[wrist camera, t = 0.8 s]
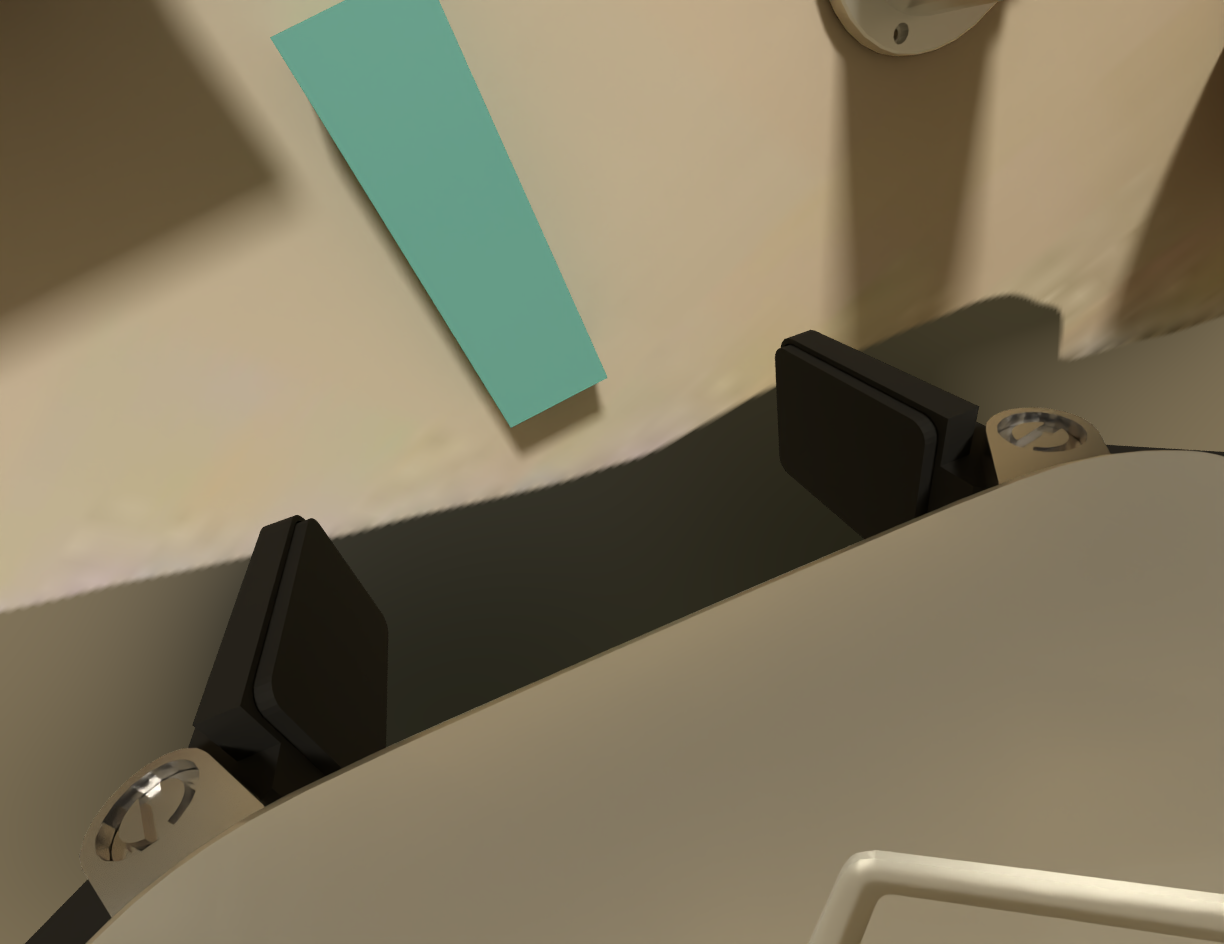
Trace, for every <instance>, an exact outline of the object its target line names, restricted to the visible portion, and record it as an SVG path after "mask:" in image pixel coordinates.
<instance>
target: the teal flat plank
mask: <svg viewBox="0 0 1224 944" xmlns="http://www.w3.org/2000/svg"><path fill="white" fill-rule="evenodd" d="M270 38H271V40H272V41H273V43H274V44H275V46H276V48H277V49H278V51H279V53H280V54H281V56H282V57H283V59H284V61H285V62H286V64H287V66H288V67H289V69H290V70H291V72H292V74H293V75H294V77H295V79H296V80H297V82H298V83H299V85H300V87H301V88H302V90H303V92H304V93H305V95H306V96H307V98H308V100H309V101H310V103H311V105H312V106H313V108H314V109H315V111H316V113H317V114H318V116H319V117H320V119H321V121H322V122H323V124H324V126H325V127H326V129H327V130H328V132H329V134H330V135H331V137H332V139H333V140H334V142H335V143H336V145H337V147H338V148H339V150H340V152H341V153H342V155H343V156H344V158H345V160H346V161H347V163H348V165H349V166H350V168H351V169H352V171H353V173H354V174H355V176H356V178H357V179H358V181H359V182H360V184H361V186H362V187H363V189H364V190H365V192H366V194H367V195H368V197H369V199H370V200H371V202H372V203H373V205H374V207H375V208H376V210H377V212H378V213H379V215H380V216H381V218H382V220H383V221H384V223H385V225H386V226H387V228H388V229H389V231H390V233H391V234H392V236H393V238H394V239H395V241H396V242H397V244H398V246H399V247H400V249H401V251H402V252H403V254H404V255H405V257H406V259H407V260H408V262H409V263H410V265H411V267H412V268H413V270H414V272H415V273H416V275H417V276H418V278H419V280H420V281H421V283H422V285H423V286H424V288H425V289H426V291H427V293H428V294H429V296H430V298H431V299H432V301H433V302H434V304H435V306H436V307H437V309H438V311H439V312H440V314H441V315H442V317H443V319H444V320H445V322H446V324H447V325H448V327H449V328H450V330H451V332H452V333H453V335H454V336H455V338H456V340H457V341H458V343H459V345H460V346H461V348H462V349H463V351H464V353H465V354H466V356H467V358H468V359H469V361H470V362H471V364H472V366H473V367H474V369H475V371H476V372H477V374H478V375H479V377H480V379H481V380H482V382H483V384H484V385H485V387H486V388H487V390H488V392H489V393H490V395H491V397H492V398H493V400H494V401H495V403H496V405H497V406H498V408H499V409H500V411H501V413H502V414H503V416H504V418H505V419H506V421H507V422H508V424H509V426H510V427H511V428H512V427H514V426H515V425H517V424H519V423H521V422H523V421H525V420H527V419H529V418H531V417H533V416H535V415H537V414H539V413H541V412H542V411H544V410H546V409H548V408H550V407H552V406H554V405H556V404H558V403H560V402H562V401H564V400H566V399H567V398H569V397H571V396H573V395H575V394H577V393H579V392H581V391H583V390H585V389H587V388H589V387H591V386H593V385H594V384H596V383H598V382H600V381H602V380H604V379H606V378H607V375H606V373H605V371H604V369H603V366H602V364H601V362H600V360H599V357H598V355H597V353H596V351H595V349H594V346H593V344H592V342H591V340H590V337H589V335H588V333H587V331H586V328H585V326H584V324H583V322H582V319H581V317H580V315H579V313H578V311H577V308H576V306H575V304H574V302H573V299H572V297H571V295H570V293H569V290H568V288H567V286H566V284H565V281H564V279H563V277H562V275H561V273H560V270H559V268H558V266H557V264H556V261H555V259H554V257H553V255H552V252H551V250H550V248H549V246H548V243H547V241H546V239H545V237H544V235H543V232H542V230H541V228H540V226H539V223H538V221H537V219H536V217H535V214H534V212H533V210H532V208H531V205H530V203H529V201H528V199H527V197H526V194H525V192H524V190H523V188H522V185H521V183H520V181H519V179H518V176H517V174H516V172H515V170H514V168H513V165H512V163H511V161H510V159H509V156H508V154H507V152H506V150H505V147H504V145H503V143H502V141H501V138H500V136H499V134H498V132H497V130H496V127H495V125H494V123H493V121H492V118H491V116H490V114H489V112H488V109H487V107H486V105H485V103H484V100H483V98H482V96H481V94H480V92H479V89H478V87H477V85H476V83H475V80H474V78H473V76H472V74H471V71H470V69H469V67H468V65H467V62H466V60H465V58H464V56H463V54H462V51H461V49H460V47H459V45H458V42H457V40H456V38H455V36H454V33H453V31H452V29H451V27H450V24H449V22H448V20H447V18H446V16H445V13H444V11H443V9H442V7H441V4H440V2H439V0H345V1H343V2H341V3H339V4H337V5H335V6H333V7H331V8H329V9H327V10H325V11H323V12H321V13H319V14H317V15H315V16H313V17H311V18H309V19H307V20H305V21H303V22H301V23H299V24H296V25H294V26H292V27H290V28H288V29H286V30H284V31H282V32H280V33H278V34H276V35H274V36H272V37H270Z"/></svg>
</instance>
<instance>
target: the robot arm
mask: <svg viewBox="0 0 1224 944" xmlns="http://www.w3.org/2000/svg"><path fill="white" fill-rule="evenodd" d="M998 1H1003V0H830V2H831V5H832V8H833V10H834V12H835V14H836V15H837V17H838V18H839V20H840V21H841V23H842V24H843V26H844V27H845V29H846V30H847V31H848V32H849V33H850V34H851V35H852V36H853V37H854V38H855V39H856V40H857V41H858V42H859V43H860V44H861V45H863V46H865V47H867V48H869V49H871V50H873V51H875V52H877V53H879V54H885V55H891V56H896V57H897V56H907V55H918V54H922V53H925V52H929V51H933V50H937V49H939V48H941V47H943V46H945V45H947V44H949V43H951V42H953V41H955V40H957V39H958V38H959V37H960V36H962V35H963V34H964V33H966V32H967V31H968V30H969V29H971V28H972V27H973V26H975V25H976V24H977V23H978V22H979V21H980V20H981V19H982V18H983V17H984V15H985V14H986V13H987V12H988V11H989V10H990V9H991V8H992V7H993V6H994V5H995V4H996V2H998ZM775 367H776V388H777V411H778V432H779V456H780V461H781V464H782V466H783V468H784V469H785V471H786V472H787V473H788V474H789V475H790V476H792V477H793V478H794V479H795V480H796V481H797V482H799V483H800V484H801V485H802V486H803V487H804V488H805V489H807V490H808V491H809V492H810V493H811V494H812V495H814V496H815V497H816V498H817V499H818V500H819V501H821V502H822V503H823V504H824V505H826V507H828V508H829V509H830V510H831V511H832V512H833V513H835V514H836V515H837V516H838V517H839V518H841V519H842V520H843V521H844V522H845V523H846V524H847V525H849V526H850V527H851V528H852V529H853V530H854V531H855V532H857V533H858V534H859V535H860V536H861V537H862V538H864V539H865V540H863V541H860V542H858V543H856V544H853V545H851V546H849V547H846V548H844V549H841V550H839V551H837V552H834V553H832V554H830V555H827V556H825V557H823V558H820V559H818V560H816V561H813V562H811V563H809V564H806V565H804V566H801V567H799V568H797V569H794V570H792V571H790V572H787V573H785V574H783V575H780V576H778V577H776V578H773V579H771V580H769V581H766V582H764V583H762V584H759V585H757V586H755V587H752V588H750V589H748V590H745V591H743V592H741V593H739V594H736V595H734V596H732V597H729V598H727V599H725V600H722V601H720V602H718V603H715V604H713V605H711V606H709V607H706V608H704V609H701V610H699V611H697V612H694V613H692V614H690V615H687V616H685V617H683V618H681V619H678V620H676V621H674V622H671V623H669V624H667V625H664V626H662V627H660V628H657V629H655V630H653V631H651V632H648V633H646V634H644V635H641V636H639V637H637V638H634V639H632V640H630V641H628V642H625V643H623V644H621V645H618V646H616V647H614V648H611V649H609V650H607V651H605V652H602V653H600V654H598V655H595V656H593V657H591V658H589V659H586V660H584V661H582V662H579V663H577V664H575V665H572V666H570V667H568V668H566V669H563V670H561V671H559V672H557V673H554V674H552V675H550V676H547V677H545V678H543V679H541V680H538V681H536V682H534V683H531V684H529V685H527V686H525V687H522V688H520V689H518V690H515V691H513V692H511V693H509V694H506V695H504V696H502V697H500V698H497V699H495V700H493V701H491V702H488V703H486V704H484V705H481V706H479V707H477V708H474V709H472V710H470V711H468V712H465V713H463V714H461V715H459V716H456V717H454V718H452V719H449V720H447V721H445V722H443V723H440V724H438V725H436V726H434V727H431V728H429V729H427V730H425V731H422V732H420V733H418V734H416V735H414V736H411V737H409V738H407V739H405V740H402V741H400V742H398V743H395V744H393V745H391V746H389V747H386V719H387V670H388V628H387V624H386V621H385V618H384V616H383V614H382V613H381V611H380V610H379V609H378V607H377V606H376V604H375V603H374V601H373V600H372V599H371V597H370V596H369V594H368V593H367V591H366V590H365V589H364V587H363V586H362V584H361V583H360V581H359V580H358V579H357V577H356V576H355V574H354V573H353V571H352V570H351V569H350V567H349V566H348V564H347V563H346V561H345V560H344V559H343V558H342V556H341V554H340V553H339V551H338V550H337V549H336V547H335V546H334V544H333V543H332V541H331V540H330V539H329V537H328V536H327V534H326V533H325V531H324V530H323V529H322V527H321V526H320V524H319V523H318V522H317V521H316V520H315V519H313V518H310V519H308V520H305V519H304V518H302V517H301V516H299V515H295V516H292V517H290V518H287V519H284V520H281V521H278V522H276V523H273V524H270V525H267V526H265V527H263V528H262V529H261V531H260V534H259V537H258V540H257V543H256V545H255V548H254V551H253V554H252V557H251V560H250V563H249V565H248V569H247V571H246V574H245V577H244V580H243V583H242V585H241V588H240V591H239V594H238V597H237V600H236V603H235V605H234V608H233V611H232V614H231V617H230V619H229V622H228V625H227V628H226V631H225V634H224V637H223V640H222V643H221V645H220V649H219V651H218V654H217V657H216V660H215V662H214V665H213V668H212V671H211V674H210V677H209V679H208V682H207V685H206V688H205V691H204V694H203V696H202V699H201V702H200V705H199V708H198V711H197V714H196V716H195V719H194V722H193V726H194V727H195V730H194V733H193V736H192V739H191V742H190V744H189V748H183V749H180V750H177V751H174V752H171V753H168V754H166V755H163V756H162V757H160V758H158V759H156V760H155V761H153V762H151V763H149V764H148V765H146V766H145V767H143V768H142V769H141V770H139V771H138V772H137V773H136V774H134V775H133V776H132V777H131V778H129V779H128V780H127V781H126V782H125V783H124V784H123V785H122V786H121V787H120V788H119V789H118V790H117V791H116V792H115V793H114V794H113V795H112V796H111V797H110V798H109V799H108V800H107V802H106V803H105V804H104V806H103V807H102V808H101V810H100V811H99V812H98V814H97V815H96V816H95V818H94V819H93V821H92V823H91V825H90V827H89V829H88V831H87V833H86V835H85V837H84V839H83V843H82V847H81V852H80V856H79V857H80V861H81V866H82V870H83V872H84V873H85V875H86V877H87V878H88V880H87V881H86V882H85V883H84V884H83V885H82V886H81V887H80V888H79V889H78V890H77V891H76V892H75V893H74V894H73V895H72V896H71V897H70V898H69V899H68V900H67V901H66V902H65V903H64V904H63V905H62V906H61V907H60V908H59V909H58V910H57V911H56V913H54V915H52V916H51V918H50V919H49V920H48V921H47V922H46V923H45V924H44V925H43V926H42V927H41V928H40V929H39V930H38V931H37V932H36V933H35V934H34V935H33V936H32V937H31V938H30V939H29V940H28V941H27V942H26V943H25V944H1224V452H1214V451H1199V450H1182V449H1165V448H1149V447H1132V446H1115V445H1106V444H1105V442H1104V440H1103V438H1102V436H1101V435H1100V433H1099V431H1098V430H1097V429H1096V428H1095V427H1094V426H1093V424H1091V423H1090V422H1088V421H1086V420H1085V419H1083V418H1081V417H1079V416H1076V415H1073V414H1071V413H1068V412H1064V411H1060V410H1055V409H1050V408H1036V407H1027V408H1015V409H1010V410H1006V411H1002V412H1000V413H998V414H996V415H994V416H992V417H991V418H990V419H989V421H988V422H987V423H986V426H984V425H982V424H980V423H978V422H976V419H977V414H978V409H979V406H977V405H974V404H972V403H970V402H968V401H966V400H964V399H962V398H959V397H957V396H955V395H953V394H951V393H949V392H946V391H944V390H942V389H940V388H938V387H935V386H933V385H931V384H929V383H927V382H925V381H923V380H920V379H918V378H916V377H914V376H911V375H910V374H907V373H905V372H903V371H901V370H899V369H897V368H894V367H892V366H890V365H888V364H886V363H884V362H881V361H879V360H877V359H875V358H872V357H870V356H868V355H866V354H864V353H862V352H860V351H858V350H855V349H853V348H851V347H849V346H847V345H845V344H842V343H840V342H838V341H836V340H834V339H832V338H829V337H827V336H825V335H823V334H821V333H819V332H817V331H814V330H809V331H806V332H803V333H800V334H798V335H795V336H792V337H789V338H787V339H784V341H783V342H782V344H781V348H779V349H778V350H777V351H776V354H775Z"/></svg>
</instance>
